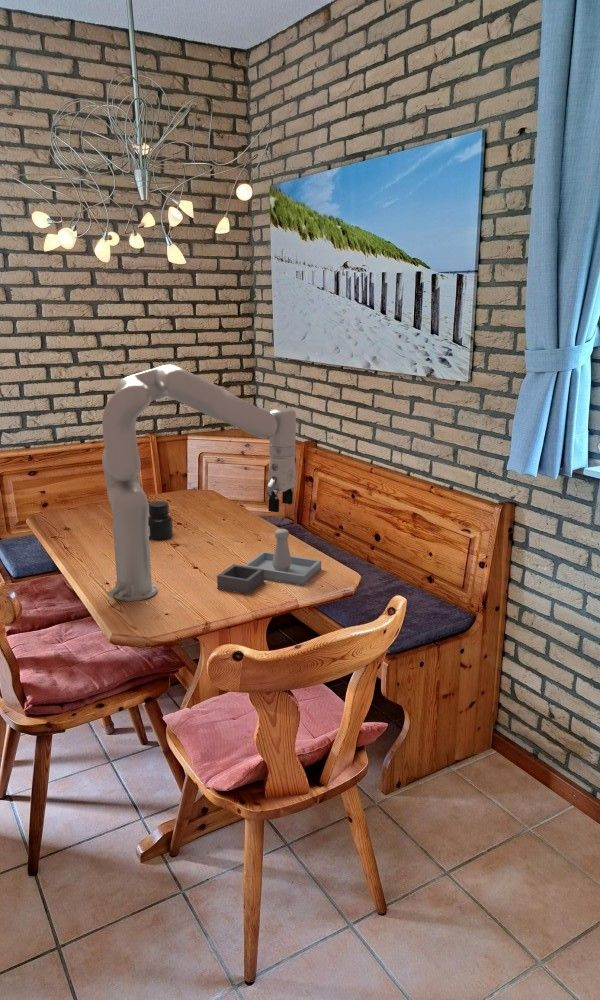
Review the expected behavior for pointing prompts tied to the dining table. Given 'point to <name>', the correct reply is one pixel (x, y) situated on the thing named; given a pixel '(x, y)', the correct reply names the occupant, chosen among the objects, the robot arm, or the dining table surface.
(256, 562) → the tray
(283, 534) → the salt shaker
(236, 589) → the holder
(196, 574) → the dining table surface
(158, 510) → the ink bottle
